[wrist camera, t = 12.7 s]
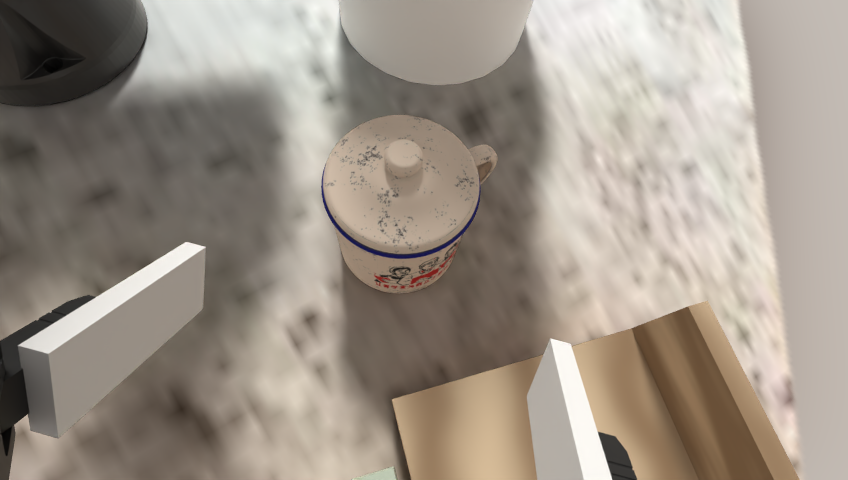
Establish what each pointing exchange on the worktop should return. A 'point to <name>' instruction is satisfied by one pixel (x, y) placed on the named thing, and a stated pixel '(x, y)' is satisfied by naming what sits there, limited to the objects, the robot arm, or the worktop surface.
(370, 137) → the teacup with lid
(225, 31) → the worktop surface
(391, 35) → the cylinder
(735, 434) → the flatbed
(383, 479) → the panel
